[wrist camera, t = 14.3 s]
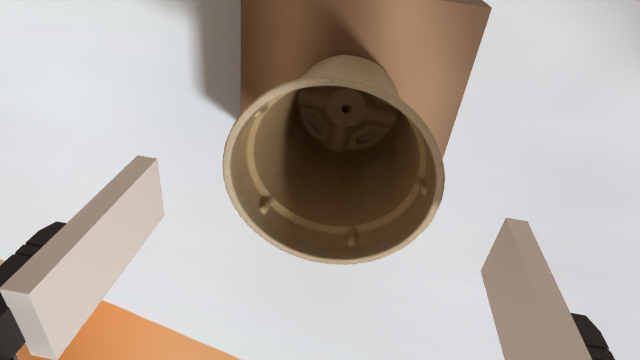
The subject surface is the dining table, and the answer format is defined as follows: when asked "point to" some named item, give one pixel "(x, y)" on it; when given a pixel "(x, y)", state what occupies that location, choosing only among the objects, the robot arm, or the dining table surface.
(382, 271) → the dining table surface
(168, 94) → the dining table surface
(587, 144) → the dining table surface
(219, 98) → the dining table surface
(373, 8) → the walnut block
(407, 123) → the flower pot
